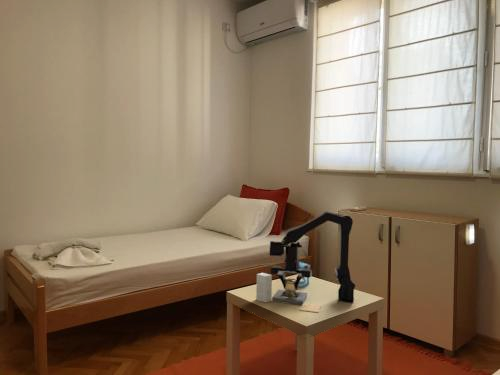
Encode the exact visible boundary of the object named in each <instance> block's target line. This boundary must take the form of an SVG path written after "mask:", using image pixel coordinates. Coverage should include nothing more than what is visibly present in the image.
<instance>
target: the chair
mask: <svg viewBox="0 0 500 375" xmlns="http://www.w3.org/2000/svg"><path fill="white" fill-rule="evenodd" d="M306 267H307V268H308V269H311V264H308V263H305V262H302V261H299V268H298V270H303V268H306ZM293 272H295V271H293ZM308 285H310V278H308V277H304V278H303V279H302V280H300V282H299V285H298V288H303V287H306V286H308Z"/></svg>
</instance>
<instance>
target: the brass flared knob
mask: <svg viewBox="0 0 500 375" xmlns="http://www.w3.org/2000/svg"><path fill="white" fill-rule="evenodd" d="M296 279H297V278H296ZM296 279H295V278H285V289H284V290H285V295H284V296H285V297H287V298H294V297H295V296H296V292H297V290H296Z"/></svg>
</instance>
